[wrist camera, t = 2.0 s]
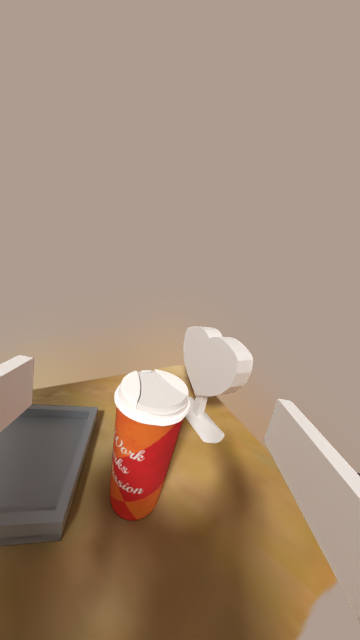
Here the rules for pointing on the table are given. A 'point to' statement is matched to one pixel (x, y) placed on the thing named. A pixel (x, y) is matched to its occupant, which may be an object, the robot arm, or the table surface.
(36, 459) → the tray
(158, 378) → the coffee cup
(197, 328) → the heart sculpture
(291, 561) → the table surface
